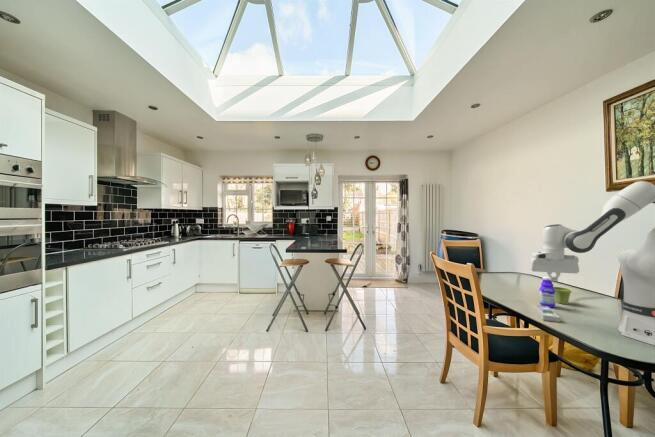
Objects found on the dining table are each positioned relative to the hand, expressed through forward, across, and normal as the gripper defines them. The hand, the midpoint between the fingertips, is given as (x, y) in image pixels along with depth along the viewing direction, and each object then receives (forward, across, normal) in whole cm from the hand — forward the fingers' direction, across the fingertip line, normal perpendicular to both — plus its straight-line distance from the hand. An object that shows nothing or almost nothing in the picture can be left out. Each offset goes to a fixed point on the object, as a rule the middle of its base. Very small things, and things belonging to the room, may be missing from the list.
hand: (553, 280), depth 139 cm
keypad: (+20, +3, -2) cm, 20 cm away
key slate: (+18, +3, -2) cm, 18 cm away
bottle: (+20, -3, -20) cm, 28 cm away
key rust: (+19, +3, -7) cm, 21 cm away
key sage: (+19, +3, +3) cm, 20 cm away
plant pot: (+20, -14, -30) cm, 39 cm away
